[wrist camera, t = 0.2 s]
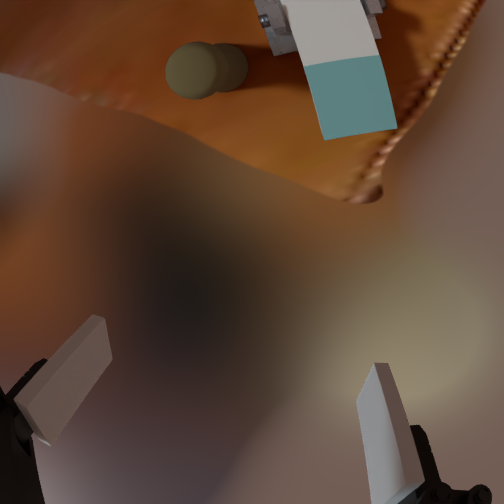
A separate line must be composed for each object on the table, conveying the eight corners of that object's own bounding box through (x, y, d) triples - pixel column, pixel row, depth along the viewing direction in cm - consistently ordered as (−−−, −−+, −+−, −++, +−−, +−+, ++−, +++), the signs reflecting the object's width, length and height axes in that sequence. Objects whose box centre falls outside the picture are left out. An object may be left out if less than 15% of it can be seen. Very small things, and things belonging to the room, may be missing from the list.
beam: (250, -67, 15) (243, -83, 12) (316, -79, 14) (317, -95, 10) (323, 138, 26) (326, 143, 23) (393, 127, 24) (405, 130, 21)
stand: (255, 2, 23) (246, -11, 18) (361, -16, 20) (376, -31, 15) (274, 56, 27) (270, 54, 22) (379, 38, 24) (398, 34, 18)
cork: (209, 35, 26) (172, 26, 17) (257, 56, 27) (241, 52, 18) (187, 80, 29) (144, 91, 21) (233, 100, 31) (208, 118, 22)
